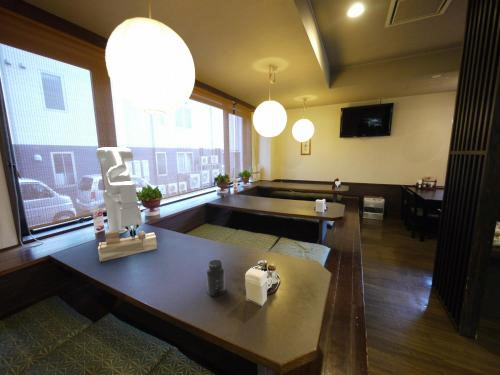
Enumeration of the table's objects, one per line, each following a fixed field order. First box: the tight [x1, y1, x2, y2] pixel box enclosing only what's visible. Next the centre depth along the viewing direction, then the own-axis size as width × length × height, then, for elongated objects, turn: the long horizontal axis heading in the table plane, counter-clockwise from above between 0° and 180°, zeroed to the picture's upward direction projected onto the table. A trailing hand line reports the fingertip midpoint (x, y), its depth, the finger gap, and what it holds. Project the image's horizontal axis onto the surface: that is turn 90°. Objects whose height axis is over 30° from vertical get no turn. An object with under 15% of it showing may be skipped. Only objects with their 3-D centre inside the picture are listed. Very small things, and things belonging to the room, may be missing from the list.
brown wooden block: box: [137, 230, 146, 239], centre depth 117 cm, size 7×3×2 cm, turn 32°
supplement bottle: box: [206, 259, 226, 297], centre depth 79 cm, size 7×7×12 cm
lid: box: [101, 230, 142, 250], centre depth 112 cm, size 9×19×7 cm, turn 122°
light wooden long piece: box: [97, 232, 158, 263], centre depth 114 cm, size 9×27×7 cm, turn 122°
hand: (133, 236), depth 115 cm, fingers closed
